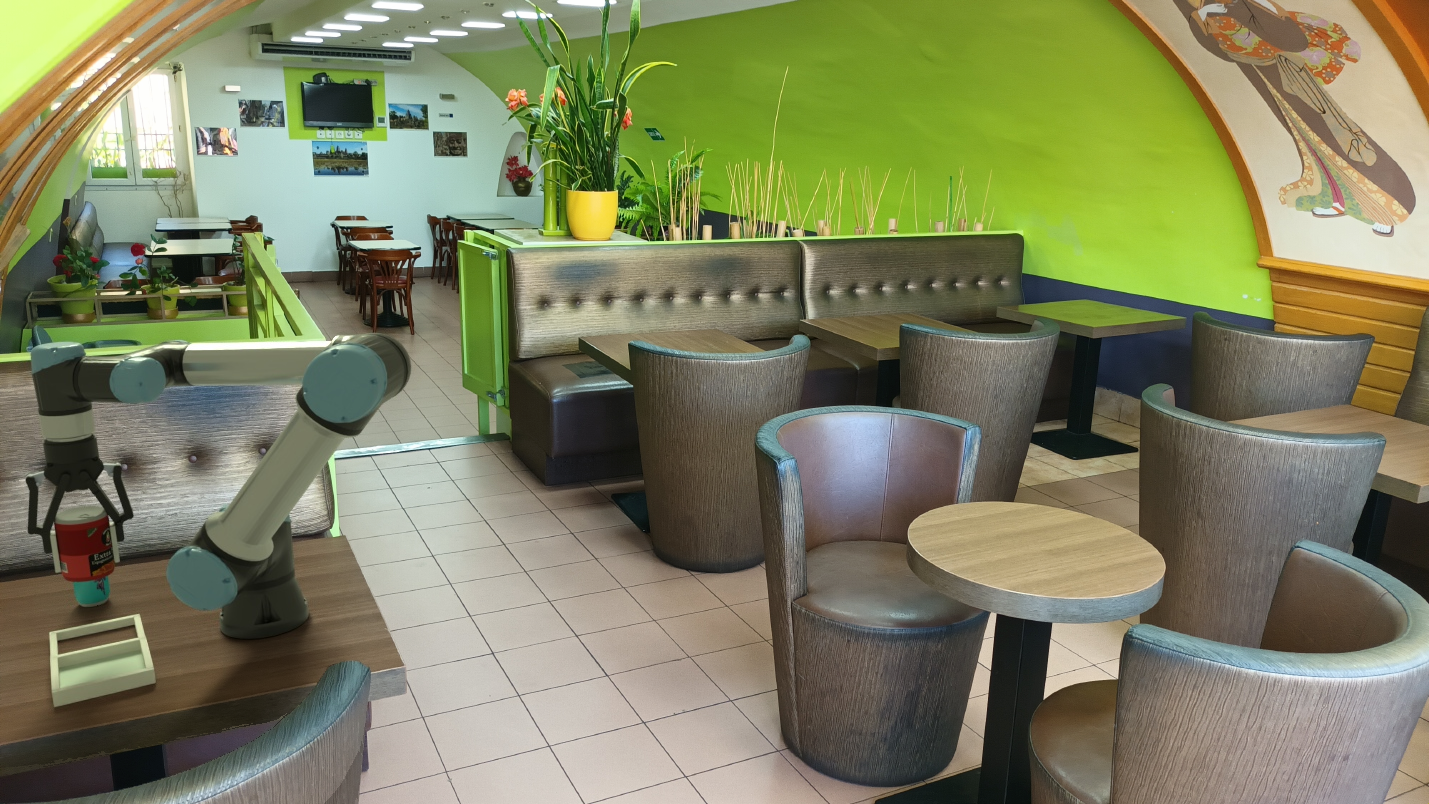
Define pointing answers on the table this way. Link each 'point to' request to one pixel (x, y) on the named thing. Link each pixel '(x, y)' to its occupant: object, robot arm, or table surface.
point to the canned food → (84, 543)
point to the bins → (99, 663)
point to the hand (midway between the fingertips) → (88, 564)
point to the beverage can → (92, 592)
